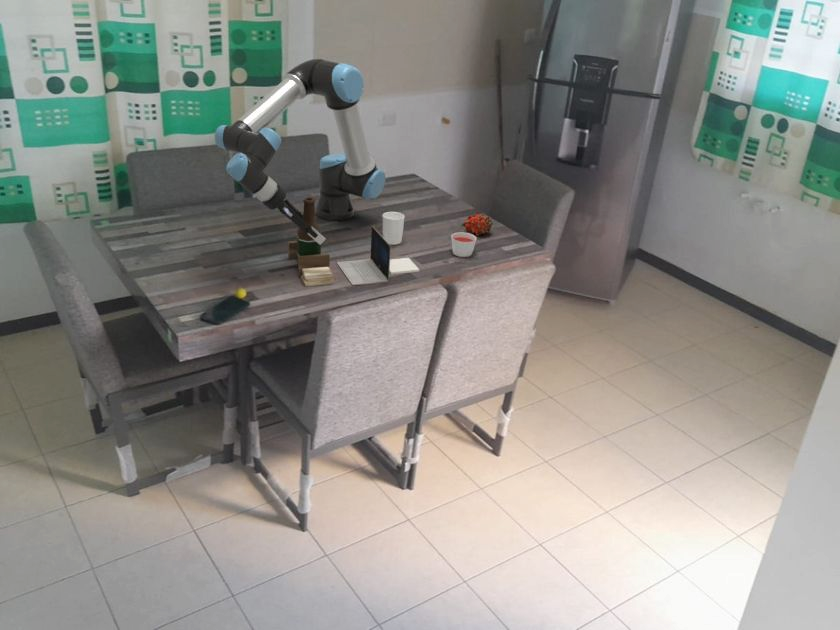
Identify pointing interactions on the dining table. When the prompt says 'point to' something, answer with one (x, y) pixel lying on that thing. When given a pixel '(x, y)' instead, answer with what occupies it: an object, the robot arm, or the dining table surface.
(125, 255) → the dining table surface
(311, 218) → the beer bottle
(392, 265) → the placing pad
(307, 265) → the bookends with books
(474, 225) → the dragon fruit
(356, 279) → the laptop
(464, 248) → the cup of red liquid
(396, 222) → the white cup
